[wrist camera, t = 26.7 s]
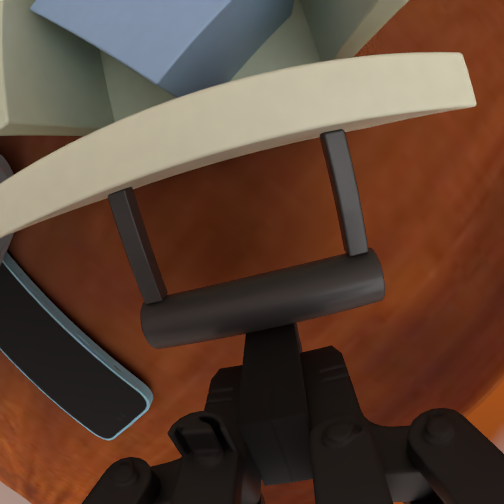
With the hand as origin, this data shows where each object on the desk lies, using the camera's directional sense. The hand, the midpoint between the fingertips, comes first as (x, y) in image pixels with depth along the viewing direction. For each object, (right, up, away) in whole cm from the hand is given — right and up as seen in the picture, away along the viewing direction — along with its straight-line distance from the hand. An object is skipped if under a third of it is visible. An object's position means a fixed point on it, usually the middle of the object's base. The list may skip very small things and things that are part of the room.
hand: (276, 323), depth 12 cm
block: (-3, +12, -2) cm, 12 cm away
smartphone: (-14, -3, +5) cm, 15 cm away
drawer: (-3, +11, -1) cm, 11 cm away
